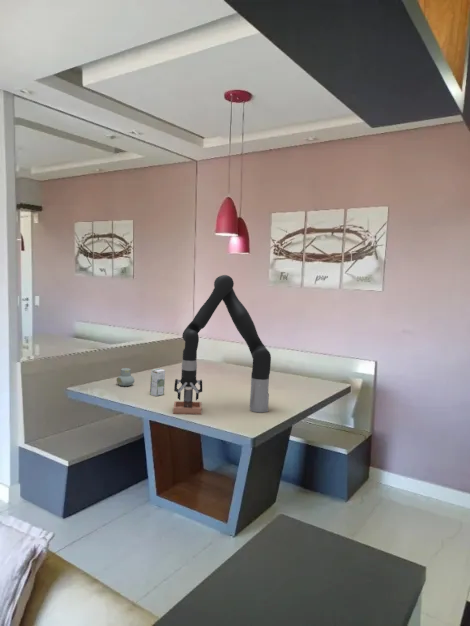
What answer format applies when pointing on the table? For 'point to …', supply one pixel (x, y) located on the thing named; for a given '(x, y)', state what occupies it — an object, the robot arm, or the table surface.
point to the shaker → (188, 397)
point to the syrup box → (157, 382)
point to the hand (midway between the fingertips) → (187, 399)
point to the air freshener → (125, 377)
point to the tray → (180, 410)
